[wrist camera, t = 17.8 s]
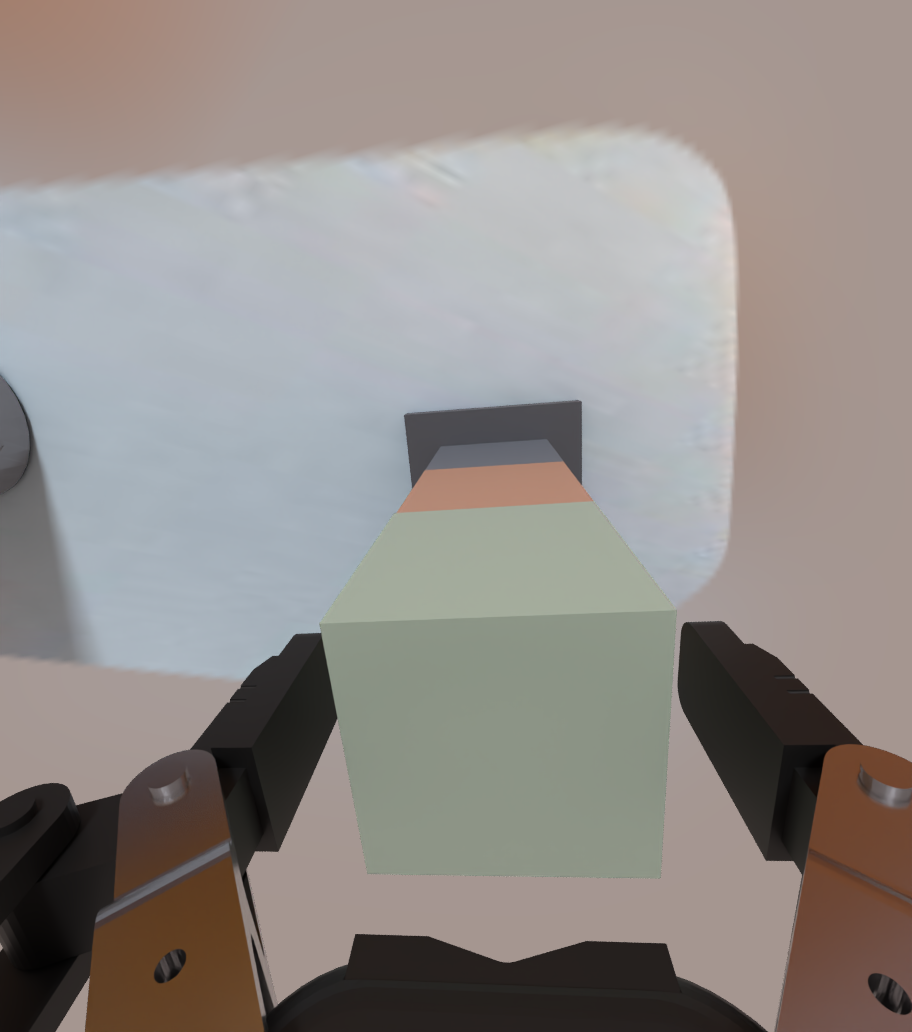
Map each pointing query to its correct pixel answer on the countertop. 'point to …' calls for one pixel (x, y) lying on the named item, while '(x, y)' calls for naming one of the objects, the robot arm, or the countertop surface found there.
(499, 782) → the brick sage
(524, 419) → the tower base
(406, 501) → the brick terracotta
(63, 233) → the countertop surface
